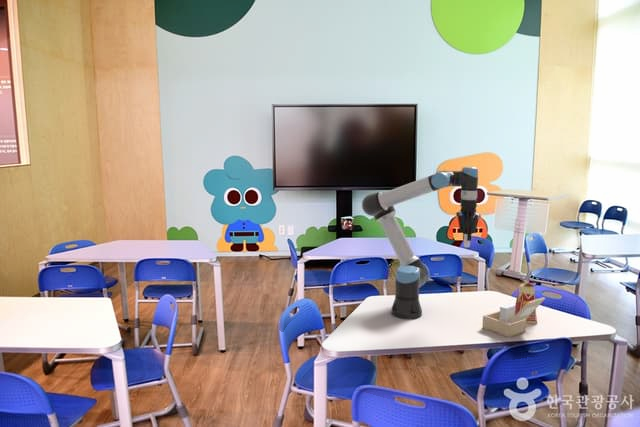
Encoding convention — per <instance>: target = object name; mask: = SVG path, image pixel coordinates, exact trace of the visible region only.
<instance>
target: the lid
mask: <svg viewBox="0 0 640 427" xmlns="http://www.w3.org/2000/svg"><path fill="white" fill-rule="evenodd" d="M545 299H546V298H545V297H544V296H543V297H540V298H535V300H532V301H529V302H527V303H526V304H525V305H524V307H523V308H522V309H521V310H520V311H519V312H518V313H517V314H516V315H515V317H514V318H513V319H512V320H511V321H510V322H509V323H510V324H512V323H515V322H518V321H521V320H524V319H527V318H528V317H529V316H530V315H531V314H532V312H533V311H534V310H535V309H536V310H537V308H538V307H540V305H541V304H542V303H543V302H544V301H545Z"/></svg>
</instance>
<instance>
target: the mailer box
mask: <svg viewBox="0 0 640 427" xmlns="http://www.w3.org/2000/svg"><path fill="white" fill-rule="evenodd" d="M514 317H515V305H514V304H510V303H508V304H506V305H502V306H500V307H499V310H498V311H494V312H491V313H488V314H484V315H482V325H481V326H482V329H484V330H487V331H489V332H491V333H495V334H498V335H499V336H500V335H501V336H502V337H506V338H508V339H509V338H513V337H515V336H519V335H521V334H524V333H526V328H527V326H526V324H527V322H526V319H524V320H521V321H518V322H515V323H512V324H510V323H509V322H510V321H511V320H512V319H513V318H514Z"/></svg>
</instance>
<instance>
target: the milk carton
mask: <svg viewBox="0 0 640 427" xmlns="http://www.w3.org/2000/svg"><path fill="white" fill-rule="evenodd" d="M532 300H536V287H535V285H533V284H531V283H530V280H523V282H522V283H521V284H520V285H519V286H518V292H517V295H516V300H515V305H514V306H515V315H516V314H517V313H518V312H519V311H520V310H521V309H522V308H523V307H524V305H525V304H526V303H527V302H529V301H532ZM536 310H537V308H536V309H535V310H534V311H533V312H532V314H531V315H530V316H529V317H528V318H527V319H526V324H527V323H528V324H538V318H537V311H536Z"/></svg>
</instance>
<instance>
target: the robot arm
mask: <svg viewBox="0 0 640 427" xmlns="http://www.w3.org/2000/svg"><path fill="white" fill-rule="evenodd" d="M478 184H479V169H478V168H477V167H475V166H473V167H472V166H471V167H470V166H464V167H462V168H461V170H438V171H437V172H436V173H434V174H431V175H429V176H426V177H423V178H420V179H417V180H415V181H412V182H409V183H406V184H404V185H401V186H398V187H396V188H393V189H391V190H387V191H378V192H373V193H369V194H367V195H366V196H365V197H364V198H363V200H362V202H361V208H362V210H363V212H364V213H365V215H368V216H371V217H374V218H373V219H374V220H375V221H376V222H378V223H380V225H381V227H382V229H383V231H384V233H385V235H386V237H387V239H388V241H389V243H390V245H391V247H392V249H393V252H394V253H395V255H396V257H397V259H398V260H399V263H400V264H399V267H398V268H397V269H396V270H395V280H394V282H395V283H394V284H395V289H394V290H395V291H394V294H395V295H394V297H395V298H394V300H393V304H392V306H391V310H390V311H391V312H390V313H391V315H392V316H393V317H396V318H400V319H409V320H410V319H418V318H421V317H422V316H423V310H422V306H421V303H420V288H421V287H422V286H425V284H426V283H427V282H428V280H429V279H430V270H429V267H428V266H427V265H426V264H425V263H423V262H422V260H421V258H420V257H419V256H416V255H415V252H414V251H413V249H412V247H411V245H410V243H409V241H408V239H407V237H406V235H405V233H404V231H403V229H402V227H401V225H400V223H399V221H398V220H397V218H396V212H397V211H396V209H395V206H396V205H398V204H402V203H404V202H406V201H410V200H413V199H415V198H418V197H421V196H424V195H426V194H430V193H433V192H436V191H439V190H441V189H444V188H448V187H460V189H461V190H460V191H461V192H460V211H457V212H456V213H455V214H456V216H457V220H458V222H457V223H458V228H459V232H462V234H463V235H462V240H463V248H470V247H471V241H472V235H473V234H475V233H476V232H477V226H478V224H479V219H480V217H481V214H479V213H477V207H478V204H477V203H478V200H477V199H478V187H479V186H478Z"/></svg>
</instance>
